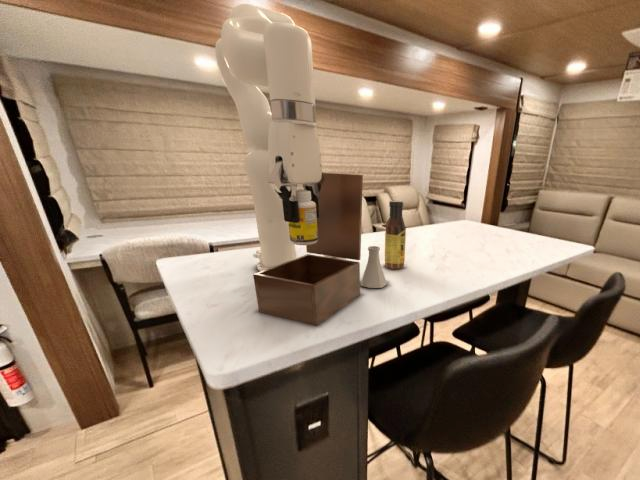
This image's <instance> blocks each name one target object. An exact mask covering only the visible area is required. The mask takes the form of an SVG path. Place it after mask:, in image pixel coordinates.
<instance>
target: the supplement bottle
mask: <svg viewBox="0 0 640 480" xmlns="http://www.w3.org/2000/svg"><path fill="white" fill-rule="evenodd" d="M295 201H298V207H299V219H300V221H299V223H293V222H288V224H289V234H290V241H291V242H292V243H293V244H295V246H306V245H312V244H315V243H316V242H317V241H318V232H317V215H316V204H315V202H313V201H311V191H307V190H304V189H297V191H296V198H295Z"/></svg>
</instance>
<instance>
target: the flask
mask: <svg viewBox="0 0 640 480" xmlns="http://www.w3.org/2000/svg"><path fill="white" fill-rule="evenodd" d="M380 250H381V247H380V246H376V245H370V246H367V251H368V258H367V261H366V262H367V263H366V266H365V268H364V272H363V275H362V277H361V279H360V287H365V288H368V289H381V288H384V287H385V286H387V285H388V284H387V280H386V276H385V274H384V271H383V268H382V264H381V261H380V260H381V259H380Z"/></svg>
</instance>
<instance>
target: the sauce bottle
mask: <svg viewBox="0 0 640 480" xmlns="http://www.w3.org/2000/svg"><path fill="white" fill-rule="evenodd" d="M388 207H389V217H388V219H387V221H386V223H385V233H384V266H385V267H386V268H387V269H390V270H398V269H399V270H400V269H402V268H404V266H405V261H406V260H405V259H406V236H407V229H406V225H405V221H404V218H403V207H404V201H403V200H390V201H389V205H388Z"/></svg>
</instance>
